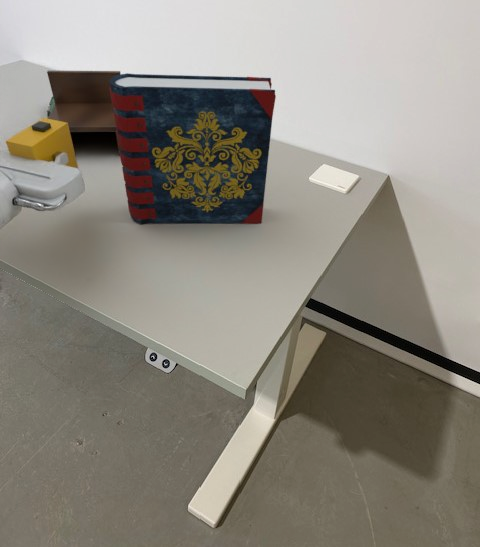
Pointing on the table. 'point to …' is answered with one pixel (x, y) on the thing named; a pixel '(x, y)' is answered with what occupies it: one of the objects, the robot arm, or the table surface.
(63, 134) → the tape measure
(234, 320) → the table surface
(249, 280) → the table surface
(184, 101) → the book
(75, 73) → the shelf
